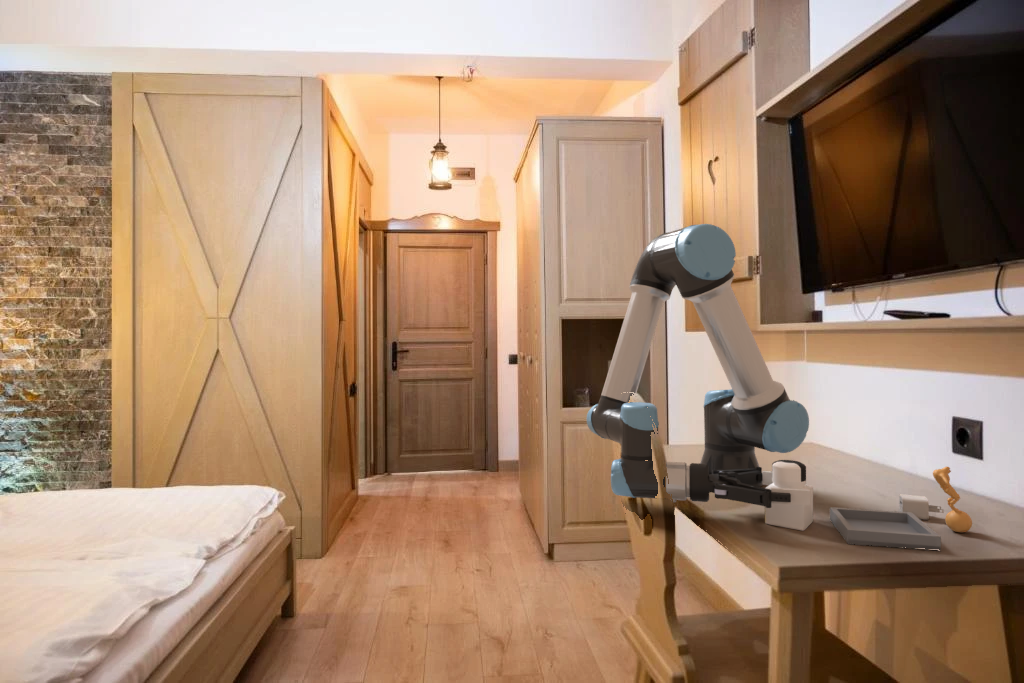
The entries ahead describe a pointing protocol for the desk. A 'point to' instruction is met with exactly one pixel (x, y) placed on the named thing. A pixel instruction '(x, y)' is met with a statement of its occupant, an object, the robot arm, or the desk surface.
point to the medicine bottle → (786, 514)
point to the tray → (883, 528)
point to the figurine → (952, 503)
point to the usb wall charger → (917, 506)
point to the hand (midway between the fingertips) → (803, 488)
